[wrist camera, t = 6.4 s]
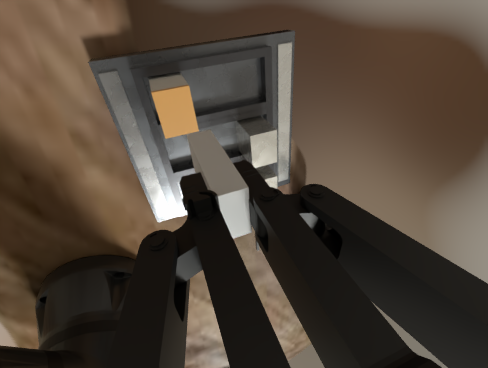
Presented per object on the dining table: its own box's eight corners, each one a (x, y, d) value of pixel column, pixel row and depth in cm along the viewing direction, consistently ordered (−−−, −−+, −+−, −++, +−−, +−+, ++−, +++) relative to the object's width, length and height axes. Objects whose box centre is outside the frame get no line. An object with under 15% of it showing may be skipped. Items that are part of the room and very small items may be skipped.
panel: (157, 215, 34) (160, 250, 30) (90, 59, 22) (77, 74, 17) (285, 177, 39) (307, 202, 34) (288, 29, 27) (322, 34, 22)
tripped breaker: (160, 117, 26) (165, 138, 22) (148, 77, 23) (151, 92, 19) (188, 111, 26) (198, 131, 22) (179, 72, 24) (188, 85, 20)
